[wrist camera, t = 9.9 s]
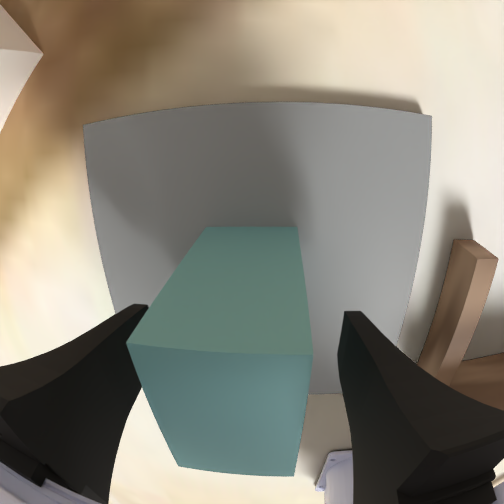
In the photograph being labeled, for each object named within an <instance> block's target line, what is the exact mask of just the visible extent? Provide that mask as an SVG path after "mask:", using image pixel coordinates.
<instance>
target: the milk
mask: <svg viewBox="0 0 504 504" xmlns="http://www.w3.org/2000/svg"><path fill="white" fill-rule="evenodd" d="M42 56H43V53H42V51H41V50H40V49H39V48H38V47H37V46H36V45H35V44H34V42H33V41H32V40H31V39H30V38H29V37H28V36H27V34H26V33H25V32H24V31H23V30H22V29H21V28H20V26H19V25H18V24H17V23H16V22H15V21H14V20H13V18H12V17H11V16H10V15H9V14H8V13H7V12H6V10H5V9H4V8H3V7H2V6H1V5H0V132H1V130H2V128H3V125H4V123H5V121H6V119H7V117H8V115H9V113H10V111H11V109H12V107H13V105H14V103H15V101H16V99H17V97H18V96H19V94H20V92H21V90H22V88H23V87H24V85H25V83H26V81H27V80H28V78H29V76H30V75H31V73H32V71H33V70H34V68H35V67H36V65H37V64H38V62H39V60H40V59H41V57H42Z"/></svg>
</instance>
